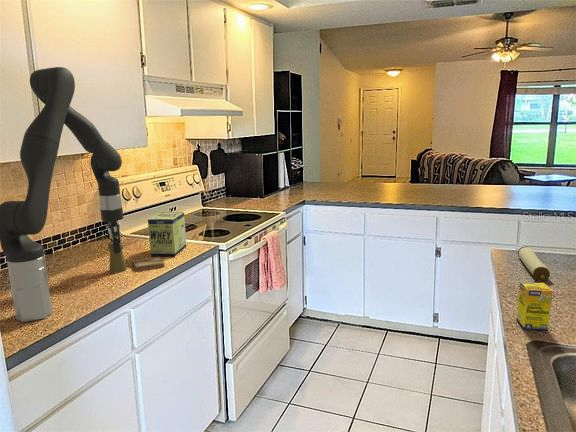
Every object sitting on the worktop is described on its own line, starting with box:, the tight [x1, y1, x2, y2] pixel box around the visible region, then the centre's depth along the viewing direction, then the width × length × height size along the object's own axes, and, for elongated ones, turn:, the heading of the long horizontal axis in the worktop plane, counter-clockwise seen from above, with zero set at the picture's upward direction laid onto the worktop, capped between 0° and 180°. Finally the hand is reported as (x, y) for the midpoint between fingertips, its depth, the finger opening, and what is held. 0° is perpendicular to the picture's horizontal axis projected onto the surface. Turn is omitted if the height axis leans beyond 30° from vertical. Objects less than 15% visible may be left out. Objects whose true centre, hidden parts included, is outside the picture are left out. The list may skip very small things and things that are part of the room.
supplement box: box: [516, 281, 553, 332], centre depth 117 cm, size 6×6×11 cm
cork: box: [107, 241, 128, 274], centre depth 167 cm, size 6×6×11 cm
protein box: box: [147, 211, 187, 258], centre depth 189 cm, size 10×16×16 cm
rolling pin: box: [517, 246, 551, 282], centre depth 160 cm, size 32×6×5 cm, turn 164°
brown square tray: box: [132, 257, 165, 272], centre depth 173 cm, size 10×10×2 cm
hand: (116, 249), depth 167 cm, fingers open, 8 cm apart
